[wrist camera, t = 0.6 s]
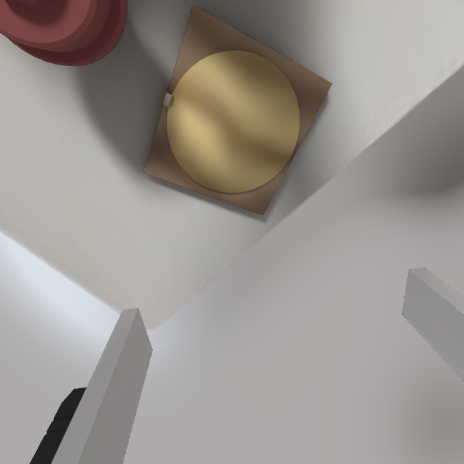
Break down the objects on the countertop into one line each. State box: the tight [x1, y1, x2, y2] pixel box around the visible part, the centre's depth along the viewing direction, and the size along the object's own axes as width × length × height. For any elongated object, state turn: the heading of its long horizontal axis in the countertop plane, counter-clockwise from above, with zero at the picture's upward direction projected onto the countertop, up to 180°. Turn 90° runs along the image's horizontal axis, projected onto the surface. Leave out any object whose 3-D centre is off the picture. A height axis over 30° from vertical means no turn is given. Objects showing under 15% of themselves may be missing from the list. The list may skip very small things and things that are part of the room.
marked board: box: [144, 5, 332, 215], centre depth 32 cm, size 17×16×2 cm
